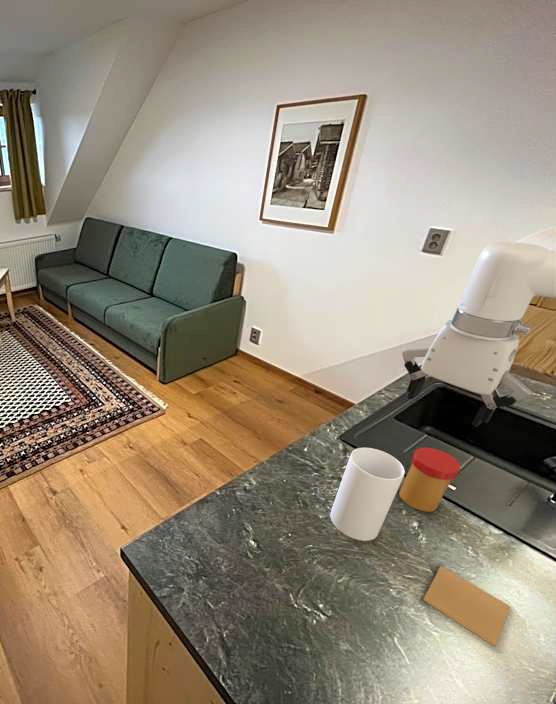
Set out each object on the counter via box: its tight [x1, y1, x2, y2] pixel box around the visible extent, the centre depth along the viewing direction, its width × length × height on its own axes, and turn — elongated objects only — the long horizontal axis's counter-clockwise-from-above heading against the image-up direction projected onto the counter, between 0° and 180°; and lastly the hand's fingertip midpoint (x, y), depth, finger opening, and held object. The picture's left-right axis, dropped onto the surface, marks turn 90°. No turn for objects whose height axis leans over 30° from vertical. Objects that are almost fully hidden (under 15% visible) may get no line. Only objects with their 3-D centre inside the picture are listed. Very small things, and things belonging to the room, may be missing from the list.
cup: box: [329, 447, 406, 542], centre depth 76 cm, size 8×8×16 cm
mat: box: [422, 565, 511, 648], centre depth 65 cm, size 9×9×1 cm
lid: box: [410, 447, 461, 481], centre depth 79 cm, size 7×7×2 cm
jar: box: [398, 462, 453, 513], centre depth 81 cm, size 6×6×11 cm
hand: (443, 409), depth 72 cm, fingers open, 9 cm apart
